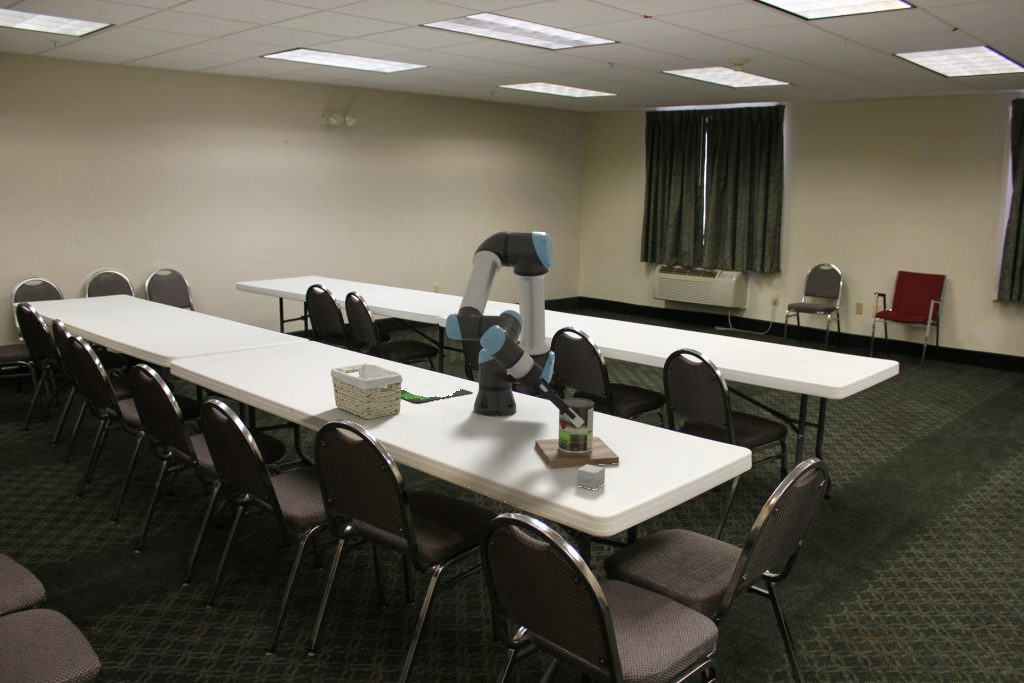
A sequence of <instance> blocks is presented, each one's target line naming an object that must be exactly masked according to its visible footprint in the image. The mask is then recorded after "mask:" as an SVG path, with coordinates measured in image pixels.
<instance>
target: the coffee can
mask: <svg viewBox="0 0 1024 683" xmlns="http://www.w3.org/2000/svg"><path fill="white" fill-rule="evenodd" d="M561 399H562V398H561ZM562 401H563V402H564V403H565V404H566V405H568V406H569V407H570V408H571V409H572V410H573V411H574V412H575V413H576V414H577V415H578V416H579V417H580V418H581V419H582V420H583V421H584V423H583V424H582V425H581V426H580V427H579V428H577V427H576V426H575V425H574V424H573V423H572V422H571V421H570V420H569V419H568V418H567V417H566V416H565V415H564V414H563V415H561V414H560V413H561V411H560V410H559V409H558V410H559V411H558V439H559V444H558V448H559V450H561V451H563V452H567V453H575V454H581V453H587V452H590V451H591V450H592V449H593V447H592V442H593V437H594V434H593V433H594V406H595V401H593V400H591V399H588V398H582V397H568V398H563V399H562ZM564 407H565V406H564ZM564 407H563V408H564ZM563 408H562V409H563Z"/></svg>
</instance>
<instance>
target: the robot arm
mask: <svg viewBox="0 0 1024 683" xmlns="http://www.w3.org/2000/svg"><path fill="white" fill-rule="evenodd" d="M471 264H472V269H471V273H470V275H469V279H468V281H467V285H466V287H465V290H464V294H463V296H462V300H461V303H460V305H459V309H458V312H457V313H452V314H449V315H447V318H446V321H445V333H446V336H447V338H449V339H451V340H460V341H479V344H480V346H481V347H482V349H481V350H480V351H479V352H478V361H477V364H478V390H477V394H476V397H475V399H474V404H473V413H475V414H478V415H481V416H485V417H486V416H488V417H504V416H510V415H513V414H515V413H516V412H517V402H516V400H515V397H514V394H513V390H512V384H518V385H519V384H520V385H521V386H522V387H523V388H524V389H528V388H530V387H532V388H533V389H534V390H535V391H536V392H537V393H538V394H540V395H541V396H542V397H544V399H548V400H549V401H550V403H552V404H553V405H554V406H555V408H557V409H558V410H560V411H561V413H560V414H561V415H563V414H564V415H565V416H566V417H567V418H568V419H569V420H570V421H571V422H572V423H573V424H574V425H575V426H576V427H577V428H579V427H580V426H581V425H582V424H583V423H584V421H583V420H582V419H581V418H580V417H579V416H578V415H577V414H576V413H575V412H574V411H573V410H572V409H571V408H570V407H569V406H568V405H566V404H565V403H564V402H563V401H562V398H561V397H560V396H559V395H558V394H557V393H558V392H557V390H556V389H553V387H552V386H551V385H550V384H549V383H551V381H552V377H553V373H554V367H555V366H554V365H555V359H556V357H555V355H556V354H555V352H554V351H552V350H551V349H550V348H551V347H550V344H548V343H547V342H546V314H545V313H546V311H545V310H546V309H545V303H546V302H545V277H546V276H547V275H548V273H549V269H551V268H553V265H554V249H553V244H552V239H551V238H550V235H549V234H548V233H546V232H543V231H542V232H541V231H506V230H505V231H503V230H502V231H499V232H496V233H493V234H492V235H489V237H487V238H486V239H484V240H483V241H482V242H481V243H480V245H479V246H478V247H477V249H476V250H475V251H474V254H473V256H472V263H471ZM505 267H507V268H513V274H514V275H515V277H517V278H518V279H517V281H518V303H519V304H518V307H519V313H518V312H517V311H516V310H512V309H507V310H504V311H502V312H500V314H499V315H488V314H487V315H485V314H484V313H485V310H486V307H487V304H488V301H489V297H490V293H491V290H492V288H493V284H494V281H495V278H496V274H497V273H499V272H500V271H501V269H502V268H505ZM519 337H520V338H519ZM519 339H520V343H518V341H519ZM564 406H565V407H564ZM563 407H564V408H563ZM562 408H563V409H562Z"/></svg>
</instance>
